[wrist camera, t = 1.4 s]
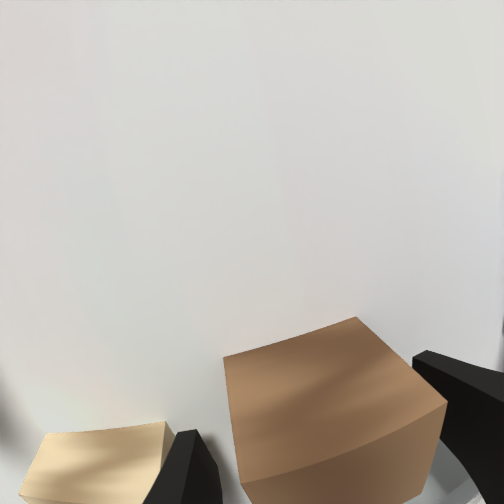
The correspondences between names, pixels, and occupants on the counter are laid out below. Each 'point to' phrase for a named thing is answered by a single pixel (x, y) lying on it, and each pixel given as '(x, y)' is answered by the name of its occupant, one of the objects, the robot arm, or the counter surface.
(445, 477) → the grey block
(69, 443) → the maple base
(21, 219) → the counter surface
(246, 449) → the walnut block
